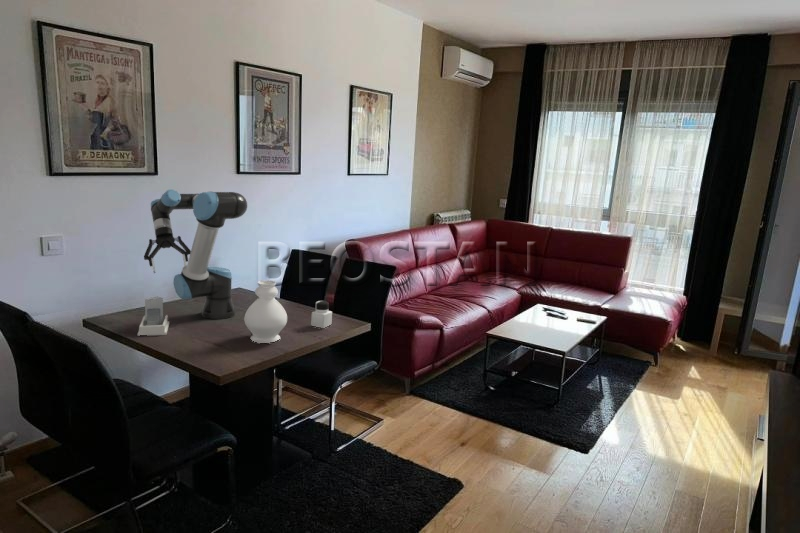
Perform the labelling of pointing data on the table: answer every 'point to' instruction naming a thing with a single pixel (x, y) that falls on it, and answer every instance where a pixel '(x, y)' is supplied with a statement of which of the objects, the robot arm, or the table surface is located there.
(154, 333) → the white rectangular tray
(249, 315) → the decorative vase
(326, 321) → the medicine bottle
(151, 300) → the skincare box
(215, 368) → the table surface
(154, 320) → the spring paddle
